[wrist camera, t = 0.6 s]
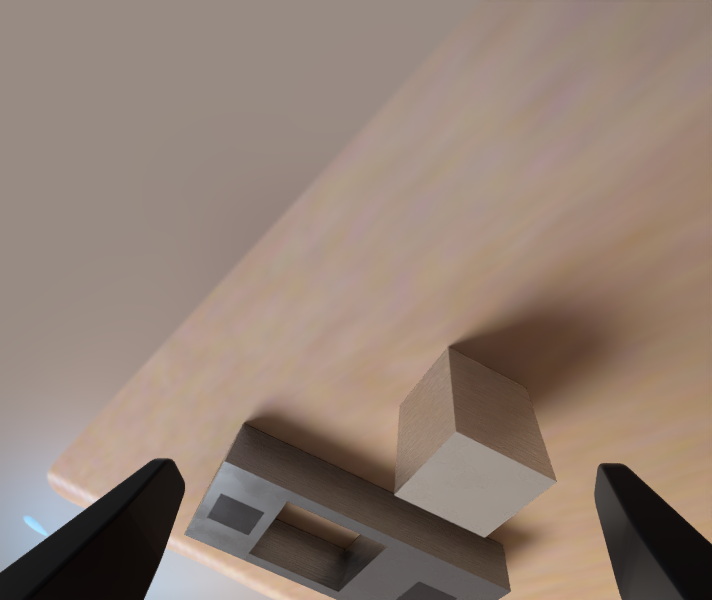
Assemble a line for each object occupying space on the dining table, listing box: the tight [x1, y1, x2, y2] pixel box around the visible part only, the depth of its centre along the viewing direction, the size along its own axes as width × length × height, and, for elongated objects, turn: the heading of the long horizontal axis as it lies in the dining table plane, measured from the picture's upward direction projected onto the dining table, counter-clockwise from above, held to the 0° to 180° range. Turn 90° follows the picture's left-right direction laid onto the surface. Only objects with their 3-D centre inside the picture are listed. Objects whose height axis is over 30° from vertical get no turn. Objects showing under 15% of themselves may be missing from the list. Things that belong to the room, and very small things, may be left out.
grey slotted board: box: [184, 423, 511, 600], centre depth 29 cm, size 20×9×3 cm, turn 62°
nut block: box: [394, 347, 557, 538], centre depth 21 cm, size 5×5×6 cm
